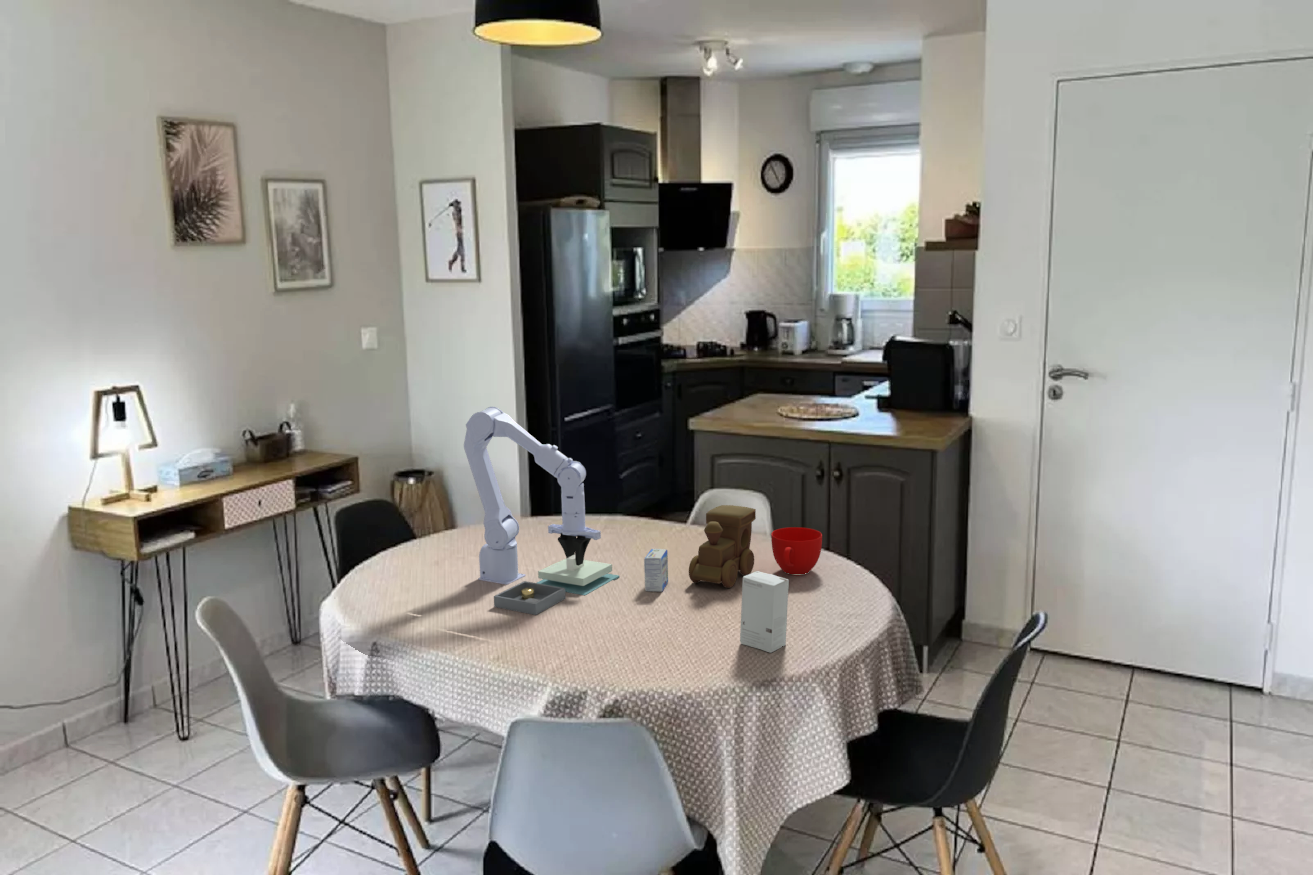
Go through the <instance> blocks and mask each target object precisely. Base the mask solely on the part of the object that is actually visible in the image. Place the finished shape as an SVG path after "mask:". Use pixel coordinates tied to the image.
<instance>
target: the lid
mask: <svg viewBox="0 0 1313 875" xmlns="http://www.w3.org/2000/svg"><path fill="white" fill-rule="evenodd" d="M537 572H538V573H537V577H538V579H540V580H543V579H546V580H552V581H557V582H563V583H569V584H575V585H580V586H584V585H586V584H588V583H590V582H592V581H594V580H596V579H598V578H600V577H602V576H604V575H606V574H611V572H613V564H612V563H606V562H600V561H593V560H587V559H584V560H583V564H581V565H576V560H575V555H572V556H570V557H568V558H566V557H565V558H564V559H561V560H560V561H558V562H555V563H553V564H551V565H549V566H547V567H545V568H542V569H540V570H538V571H537Z"/></svg>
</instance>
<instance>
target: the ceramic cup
mask: <svg viewBox="0 0 1313 875" xmlns="http://www.w3.org/2000/svg"><path fill="white" fill-rule="evenodd" d="M770 538H771V549H772V550H771V551H772V555H773V557H774V560H775V562H776V564H777V565H778V566H779V567H780V569H781V570H782V571H783V573H784V572H786V573H789V574H805V573H808V572H809V571H812V570H813V568H814V567H815V566H816V564H817V563H818V561H819V558H820V556H821V551H822V546H823V545H822V544H823V534H822V532H821V531H819V530H817V529H814V528H808V527H800V526H799V527H796V526H794V527H792V526H791V527H782V528H778V529H775V530H773V531H772V532H771V534H770ZM786 573H785V574H786ZM809 573H810V572H809ZM809 573H808V574H809ZM789 574H788V575H789ZM805 575H806V574H805Z"/></svg>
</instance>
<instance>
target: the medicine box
mask: <svg viewBox="0 0 1313 875" xmlns="http://www.w3.org/2000/svg"><path fill="white" fill-rule="evenodd" d="M668 555H669V554H668V549H665V548H651V549H650V550H649V552H648V553H647V554H646V556H645V557H644V559H643V569H644V571H643V572H644V589H645V592H651V593H653V592H654V593H655V592H657V593H663V591H664V589H665V588H666V586H667V584H668V583H669V564H668V562H669V558H668Z"/></svg>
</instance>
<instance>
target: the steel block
mask: <svg viewBox="0 0 1313 875" xmlns="http://www.w3.org/2000/svg"><path fill="white" fill-rule="evenodd" d="M525 601H528V602H533V603H535V602H537V601H539V600H538V599H533V598H529V599H527V600H525Z"/></svg>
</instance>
